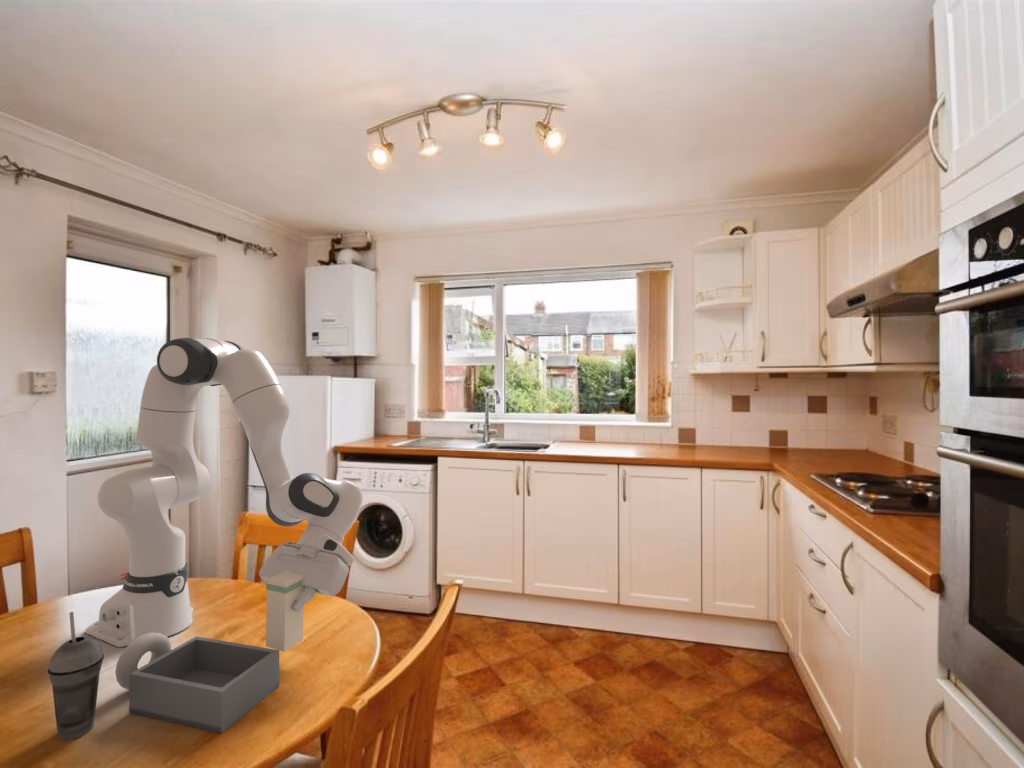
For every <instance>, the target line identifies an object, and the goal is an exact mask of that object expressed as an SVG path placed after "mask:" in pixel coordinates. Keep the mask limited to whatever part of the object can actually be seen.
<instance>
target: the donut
mask: <svg viewBox="0 0 1024 768" xmlns="http://www.w3.org/2000/svg"><path fill="white" fill-rule="evenodd" d="M171 650H173V649H172V643H171V641H170V639H169V638H168V636H165V635H163V634H161V633H148V634H144V635H142V636H140V637H138V638H137V639H135V640H134V641H133V642H131V643H130V644H129V645H127V646H125V648H124V650H123V651H122V653H121V654H120V656H119V658H118V660H117V662H116V666H115V672H114V673H115V679H116V682H117V684H118V685H119V686H120V687H121V688H124V689H126V690H129V677H130V673H132V672H134V671H135V670H137V669H139V667H138V666H139V662H140V661H141V659H142V657H143V656H144V655H145V654H147V653H148V652H150V654H151V655H150V656H151V657H150V659H149V661H148V663H150V662H152V661H153V660H155V659H157V658H159V657H160V656H162V655H164V654H166V653H168V652H169V651H171Z"/></svg>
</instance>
